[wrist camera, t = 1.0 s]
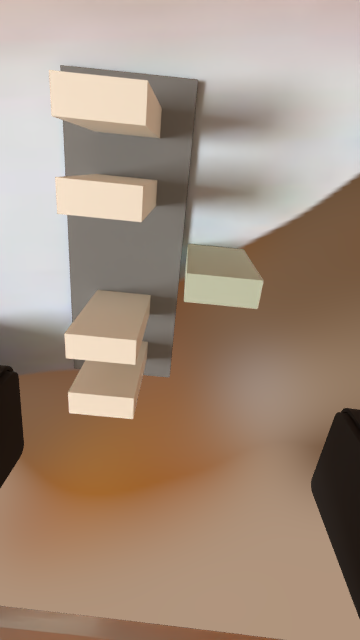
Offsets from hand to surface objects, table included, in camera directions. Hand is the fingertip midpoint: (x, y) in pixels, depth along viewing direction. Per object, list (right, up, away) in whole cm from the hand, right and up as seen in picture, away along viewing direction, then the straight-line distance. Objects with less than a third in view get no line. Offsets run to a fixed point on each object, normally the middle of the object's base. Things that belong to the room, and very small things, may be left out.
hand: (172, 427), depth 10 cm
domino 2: (-4, +14, +18) cm, 23 cm away
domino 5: (+3, +9, +20) cm, 22 cm away
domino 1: (-4, +18, +16) cm, 24 cm away
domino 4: (-6, 0, +24) cm, 25 cm away
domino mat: (-5, +10, +20) cm, 23 cm away
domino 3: (-5, +5, +22) cm, 23 cm away
